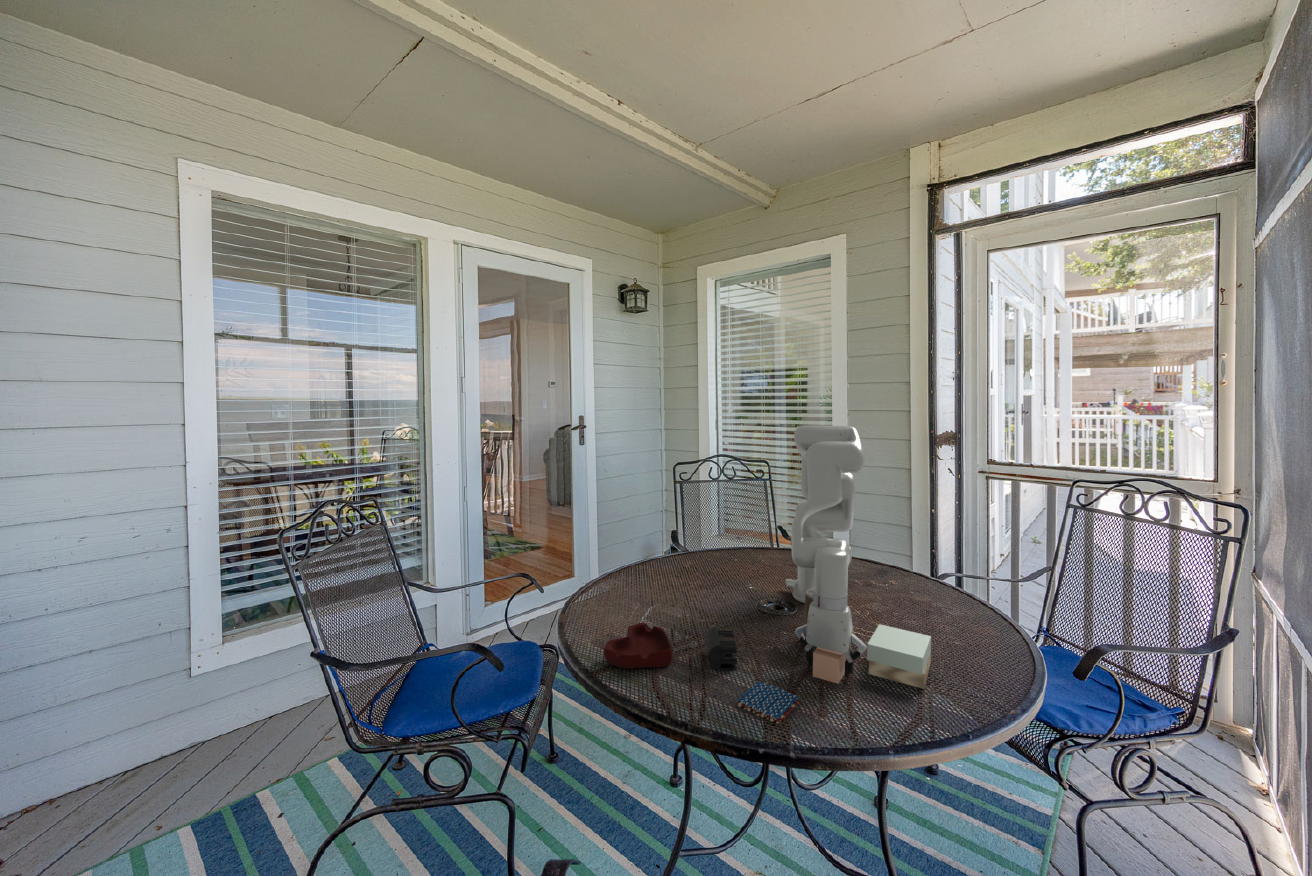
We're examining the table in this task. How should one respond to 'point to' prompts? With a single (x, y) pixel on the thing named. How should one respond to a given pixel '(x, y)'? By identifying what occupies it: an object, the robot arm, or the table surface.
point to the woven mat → (769, 702)
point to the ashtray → (640, 648)
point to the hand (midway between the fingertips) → (829, 669)
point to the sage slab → (899, 648)
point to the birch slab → (900, 673)
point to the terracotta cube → (828, 665)
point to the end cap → (721, 649)
